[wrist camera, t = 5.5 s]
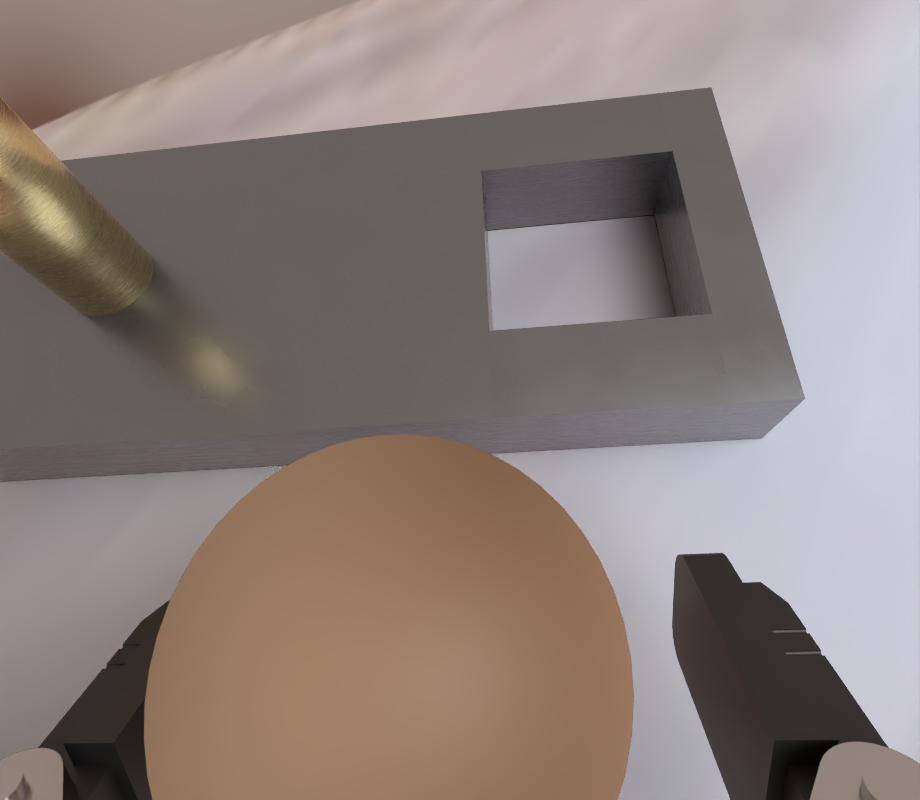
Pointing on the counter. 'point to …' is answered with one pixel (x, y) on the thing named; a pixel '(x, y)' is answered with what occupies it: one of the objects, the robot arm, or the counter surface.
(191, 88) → the counter surface
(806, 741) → the robot arm
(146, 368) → the bolt plate
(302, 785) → the walnut peg
